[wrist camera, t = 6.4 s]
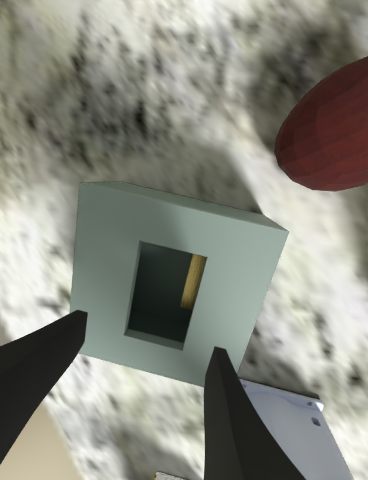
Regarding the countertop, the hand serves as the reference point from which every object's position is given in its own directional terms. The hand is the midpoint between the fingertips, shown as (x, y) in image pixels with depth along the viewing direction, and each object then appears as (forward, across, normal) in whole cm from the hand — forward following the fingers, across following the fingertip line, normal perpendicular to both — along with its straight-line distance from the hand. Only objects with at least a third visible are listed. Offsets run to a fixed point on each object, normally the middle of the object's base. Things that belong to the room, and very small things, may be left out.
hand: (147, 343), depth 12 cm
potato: (+10, -9, -14) cm, 19 cm away
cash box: (+10, 0, -1) cm, 10 cm away
